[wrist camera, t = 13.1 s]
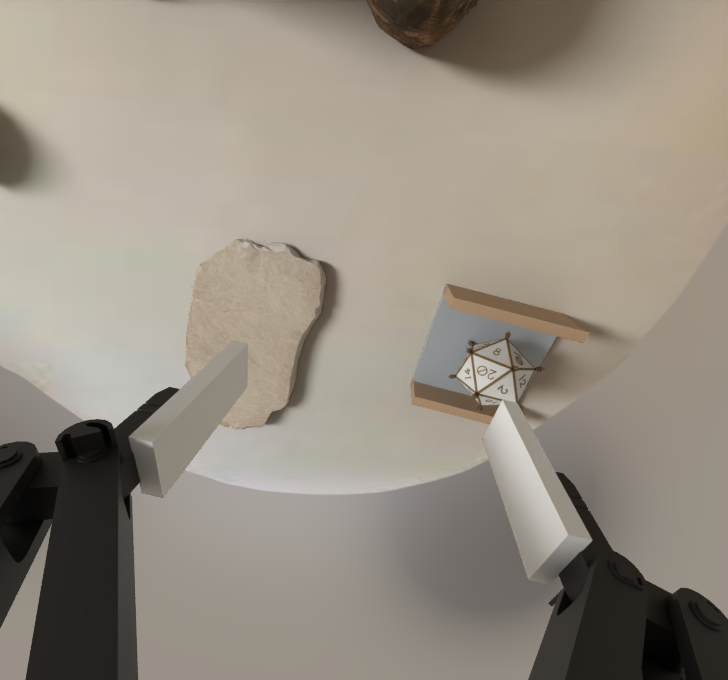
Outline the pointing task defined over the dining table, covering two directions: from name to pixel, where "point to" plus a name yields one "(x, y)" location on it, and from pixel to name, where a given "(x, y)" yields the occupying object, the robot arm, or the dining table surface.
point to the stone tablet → (255, 320)
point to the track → (479, 324)
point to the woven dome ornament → (419, 18)
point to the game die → (495, 372)
